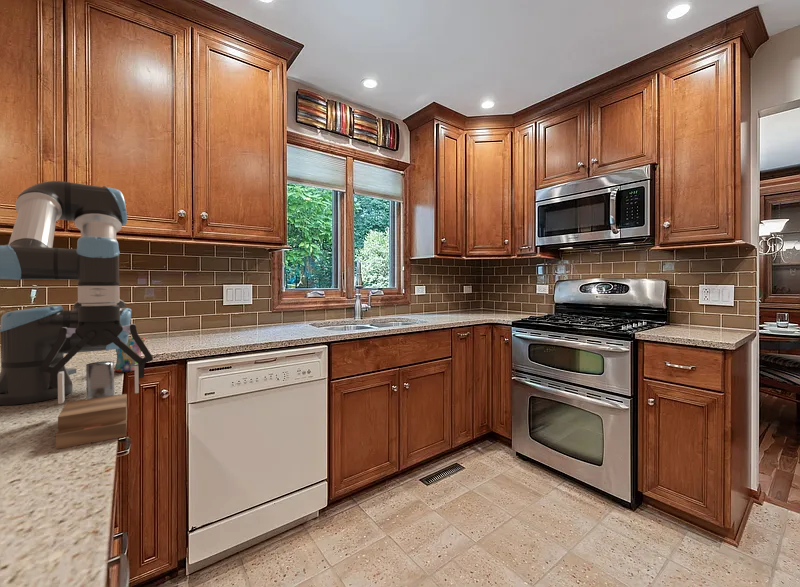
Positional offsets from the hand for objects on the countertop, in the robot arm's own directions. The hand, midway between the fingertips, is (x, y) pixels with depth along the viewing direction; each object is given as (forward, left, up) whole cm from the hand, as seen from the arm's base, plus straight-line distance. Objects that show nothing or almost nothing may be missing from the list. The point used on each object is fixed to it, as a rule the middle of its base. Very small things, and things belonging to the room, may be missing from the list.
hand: (100, 397), depth 87 cm
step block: (+14, 0, -3) cm, 14 cm away
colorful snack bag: (-46, +5, -4) cm, 47 cm away
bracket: (-50, -14, -4) cm, 52 cm away
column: (0, 0, -3) cm, 3 cm away
